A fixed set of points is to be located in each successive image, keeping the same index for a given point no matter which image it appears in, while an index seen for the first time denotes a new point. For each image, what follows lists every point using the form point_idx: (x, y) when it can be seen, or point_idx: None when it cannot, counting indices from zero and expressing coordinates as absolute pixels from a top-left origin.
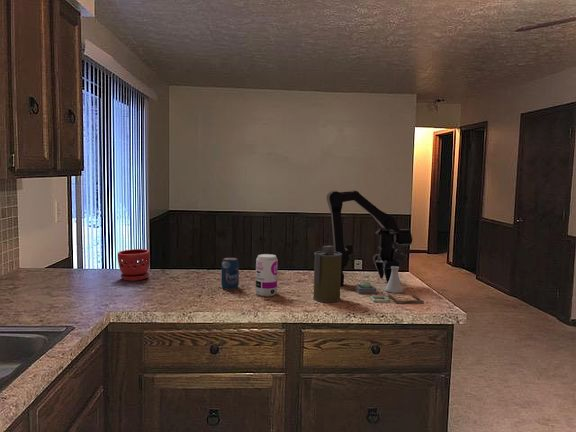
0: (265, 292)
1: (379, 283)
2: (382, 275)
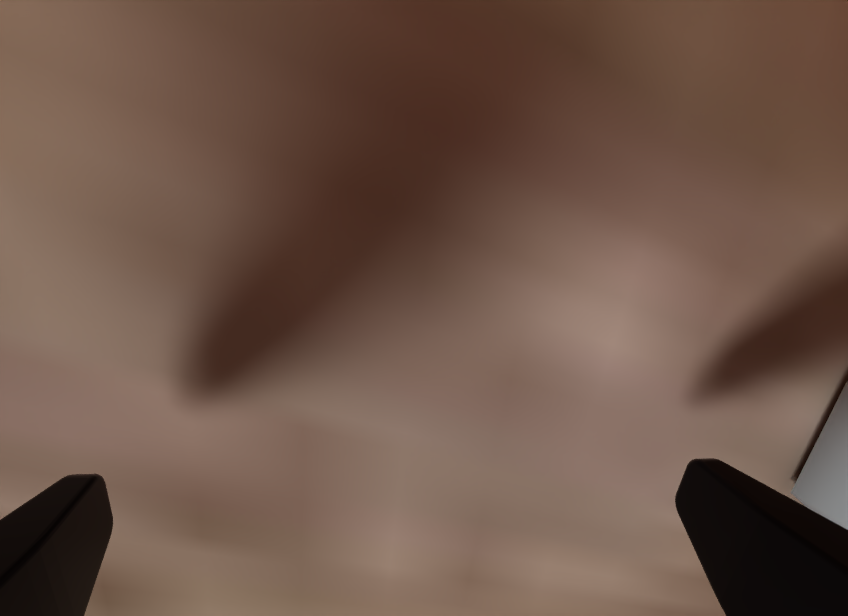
0: None
1: (317, 503)
2: (58, 569)
